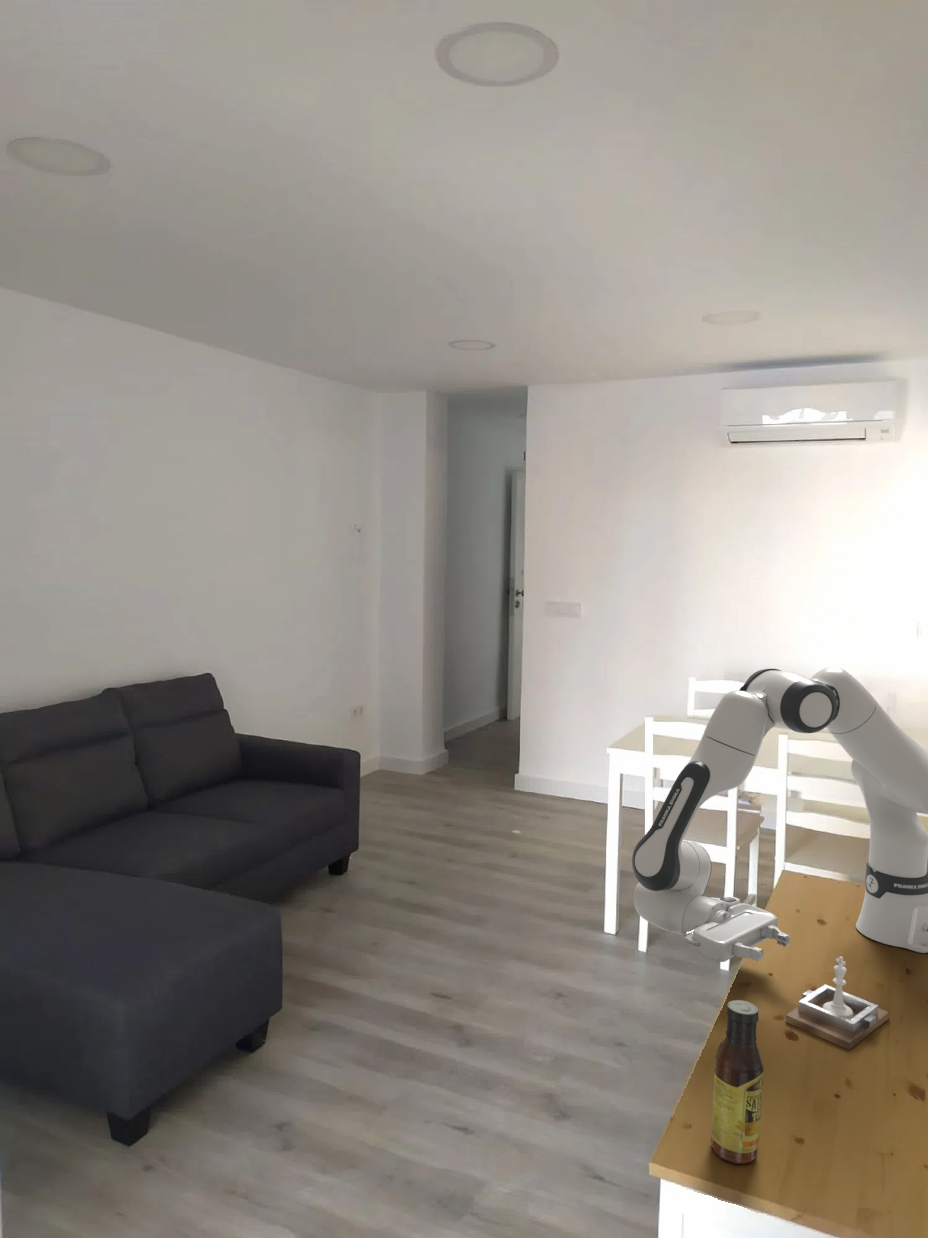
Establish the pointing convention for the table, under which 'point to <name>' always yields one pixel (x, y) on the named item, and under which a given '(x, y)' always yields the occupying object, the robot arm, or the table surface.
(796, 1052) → the table surface
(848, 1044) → the socket board
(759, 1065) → the sauce bottle
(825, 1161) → the table surface
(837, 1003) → the chess piece
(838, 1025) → the square frame tray
